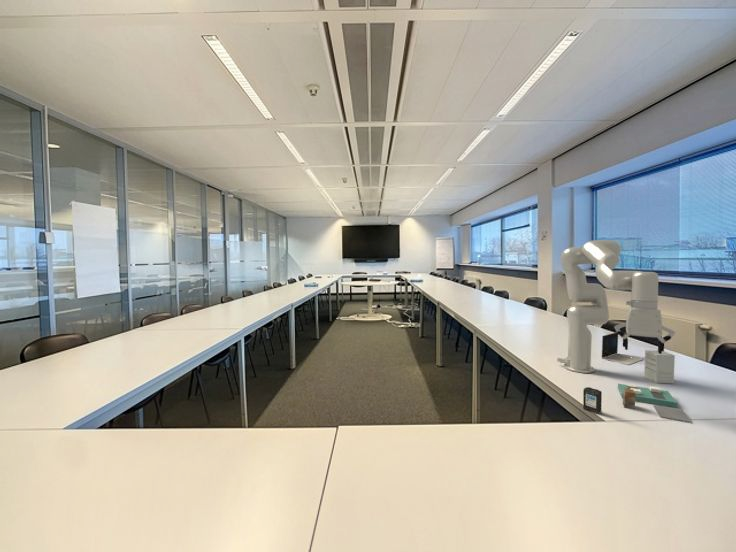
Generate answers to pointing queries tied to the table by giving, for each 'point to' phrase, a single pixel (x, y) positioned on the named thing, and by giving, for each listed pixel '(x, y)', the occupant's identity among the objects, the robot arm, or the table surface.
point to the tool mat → (672, 413)
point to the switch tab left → (637, 391)
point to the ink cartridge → (592, 400)
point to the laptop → (615, 350)
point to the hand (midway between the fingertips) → (642, 350)
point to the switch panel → (651, 396)
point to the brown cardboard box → (628, 398)
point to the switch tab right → (655, 389)
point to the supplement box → (659, 366)
